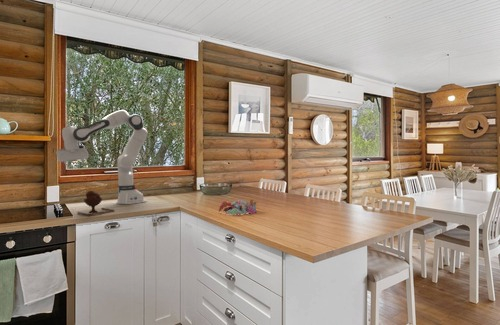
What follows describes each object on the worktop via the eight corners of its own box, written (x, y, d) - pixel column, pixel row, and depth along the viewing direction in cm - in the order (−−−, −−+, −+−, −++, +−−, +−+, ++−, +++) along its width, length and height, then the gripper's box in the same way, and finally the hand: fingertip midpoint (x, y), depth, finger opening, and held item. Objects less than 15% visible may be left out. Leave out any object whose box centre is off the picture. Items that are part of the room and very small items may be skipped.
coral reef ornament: (232, 207, 225) (232, 195, 224) (261, 210, 215) (261, 197, 214) (214, 214, 202) (214, 201, 202) (246, 218, 192) (246, 203, 192)
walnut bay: (102, 209, 218) (102, 207, 218) (114, 211, 211) (114, 209, 211) (77, 213, 203) (77, 212, 203) (88, 216, 196) (88, 214, 196)
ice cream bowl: (95, 214, 201) (94, 192, 201) (80, 213, 204) (79, 191, 203) (105, 211, 212) (105, 189, 211) (91, 210, 214) (91, 189, 213)
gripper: (55, 149, 218) (59, 168, 218) (87, 145, 229) (90, 163, 230) (55, 150, 223) (58, 168, 223) (86, 146, 235) (89, 164, 235)
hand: (75, 166), depth 227 cm, fingers open, 8 cm apart
